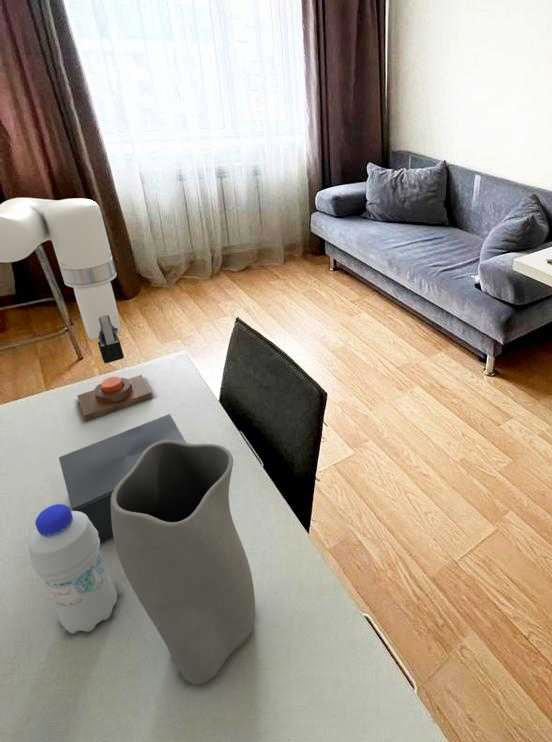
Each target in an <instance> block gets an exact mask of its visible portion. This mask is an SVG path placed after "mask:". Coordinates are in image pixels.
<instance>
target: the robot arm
mask: <svg viewBox="0 0 552 742" xmlns="http://www.w3.org/2000/svg"><path fill="white" fill-rule="evenodd" d="M47 241H51V243H52V246H53V250H54V253H55V256H56V259H57V262H58V266H59V270H60V272H61V273H60V274H61V276H62V279H63V282H64V285H65V286H67V287H69V288H73V292H74V293H73V294H74V296H75V299H76V304H77V306H78V307H77V308H78V310H79V313H80V317H81V321H82V323H83V327H84V329H85V331H86V334H87V337H88V339H90V340H95V339H98V341H97V345H98V348H99V351H100V356H101V359H102V361H103V363H104V364H109V363H113V362H117V361H119V360H123V359H124V358H125V355H124V352H123V348H122V345H121V341H120V338H119V336H118V334H120V332H121V331H122V327H121V321H120V316H119V311H118V306H117V302H116V298H115V294H114V290H113V286H112V282H111V281H113V280H114V279H116V277H117V276H118V275H117V270H116V266H115V262H114V259H113V255H112V250H111V247H110V242H109V238H108V234H107V231H106V226H105V222H104V218H103V213H102V211H101V207H100V205H99V204H98V203H97V202H96V201H93V200H92V199H89V198H81V197H80V198H78V197H77V198H63V199H59V200H57V199H55V200H54V199H43V198H35V197H34V198H33V197H15V198H10V199H8V200H5V201H3V202H2V203H0V263H15V262H18V261H21V260H24V259H26V258H27V257H29V256H30V255H31V254H32V253H33V252H34V251H36V249H37V248H38V247H39V245H40V244H43V243H44V242H47Z"/></svg>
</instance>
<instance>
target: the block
mask: <svg viewBox="0 0 552 742" xmlns="http://www.w3.org/2000/svg"><path fill="white" fill-rule="evenodd" d="M120 378H121V380H122V384H123V388H122V389H120V390H119V391H116V392H113V393H104V392H103V390H102V387H101V383H99V384H97V385H96V387H95V388H94V389H93V390H90V391H86V392H83V393H81V394H77V395H76V396H77V399H78V403H79V406H80V408H81V412H82V415H83V418H84V420H85V422H88V421H90V420H94V419H97V418H100V417H102V416H105V415H108V414H110V413H111V414H112V413H113V412H117V411H120V410H122V409H125V408H128V407H131V406H133V405H136V404H139V403H142V402H145V401H148V400H151V399H153V394H152V391H151V389H150V387H149V385H148V383H147V382H146V380H145V378H144V376H143V375H142V374H140V375H136V376H133V377H130V378H125V377H120Z"/></svg>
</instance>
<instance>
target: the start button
mask: <svg viewBox="0 0 552 742" xmlns="http://www.w3.org/2000/svg"><path fill="white" fill-rule="evenodd" d="M121 378H122V377H120V376H111V377H107V378H105V379H104V380H102V381H101V383H100V384H101V387H102V390H103V392H104V393H113V392H116V391H119V390H120V389H122V388H123V384H122V380H121Z"/></svg>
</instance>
